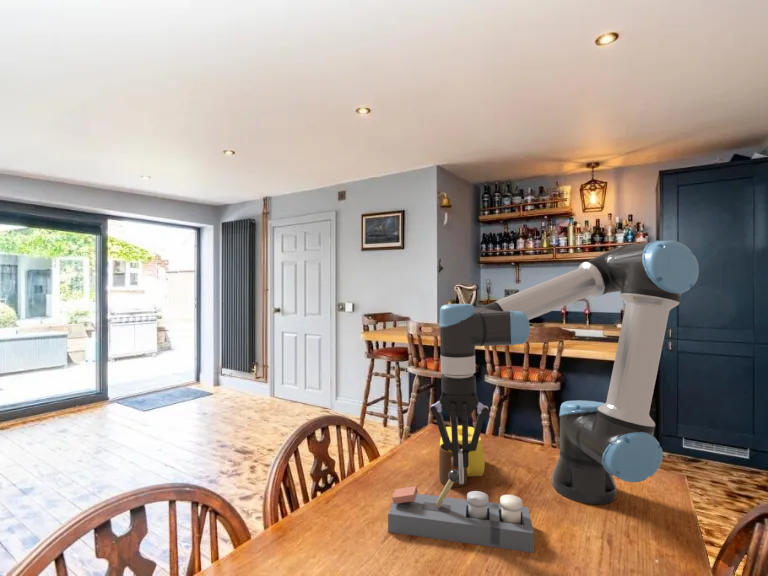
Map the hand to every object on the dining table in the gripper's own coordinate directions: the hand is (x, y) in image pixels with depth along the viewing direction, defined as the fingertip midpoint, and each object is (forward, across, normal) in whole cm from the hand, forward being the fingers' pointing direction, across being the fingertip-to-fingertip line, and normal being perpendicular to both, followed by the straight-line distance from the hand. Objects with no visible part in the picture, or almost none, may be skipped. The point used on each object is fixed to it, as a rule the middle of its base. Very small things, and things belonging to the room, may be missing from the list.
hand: (461, 481), depth 91 cm
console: (+11, +1, 0) cm, 11 cm away
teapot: (+11, +2, -32) cm, 34 cm away
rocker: (+5, +13, 0) cm, 13 cm away
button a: (+8, -10, 0) cm, 13 cm away
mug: (+11, +3, -20) cm, 22 cm away
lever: (+6, +6, 0) cm, 9 cm away
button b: (+8, -3, 0) cm, 8 cm away
